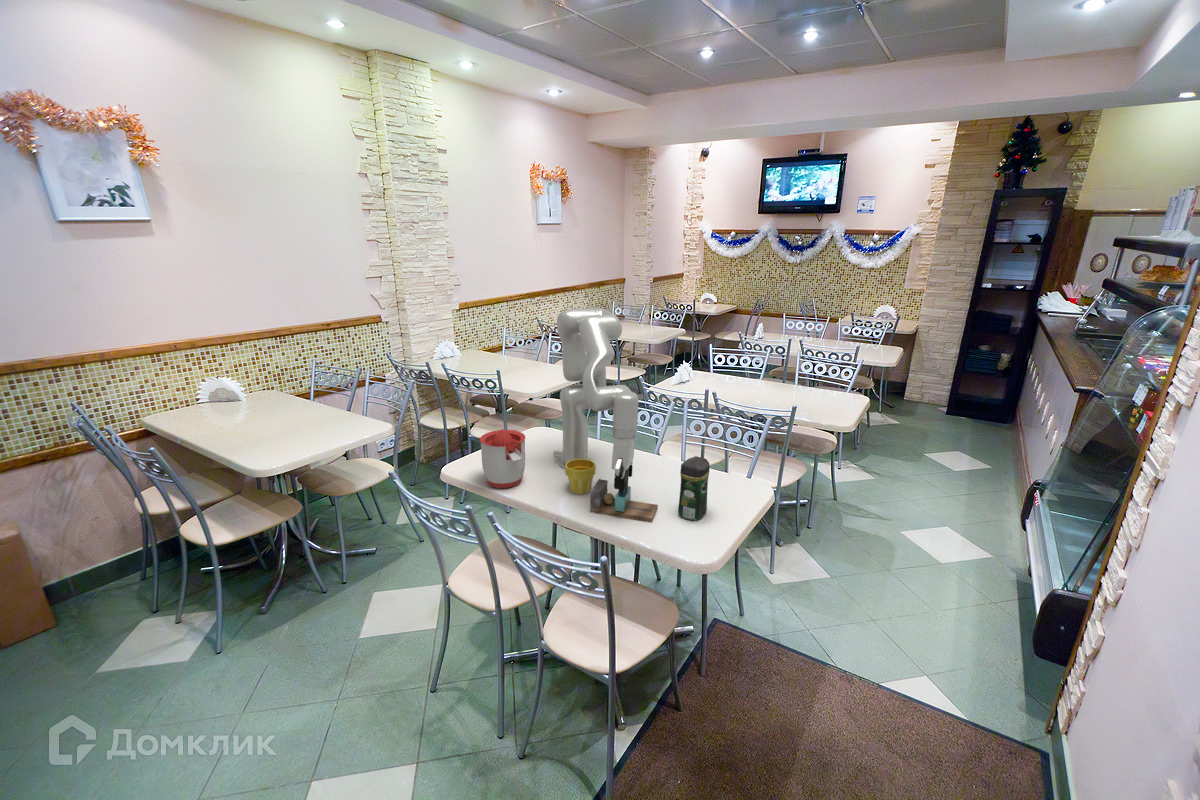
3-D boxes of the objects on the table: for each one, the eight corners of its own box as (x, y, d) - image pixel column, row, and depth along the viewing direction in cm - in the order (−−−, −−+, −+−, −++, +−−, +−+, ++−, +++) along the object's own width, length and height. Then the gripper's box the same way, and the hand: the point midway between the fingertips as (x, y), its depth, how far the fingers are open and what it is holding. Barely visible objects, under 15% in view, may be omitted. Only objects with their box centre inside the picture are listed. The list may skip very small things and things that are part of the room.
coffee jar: (687, 504, 170) (690, 452, 164) (709, 511, 166) (714, 458, 160) (673, 516, 162) (677, 462, 157) (696, 524, 158) (701, 468, 153)
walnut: (601, 505, 165) (601, 495, 164) (604, 500, 168) (605, 490, 167) (612, 507, 164) (612, 497, 163) (615, 502, 167) (615, 492, 166)
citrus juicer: (498, 498, 172) (495, 442, 166) (474, 480, 185) (471, 427, 179) (537, 485, 182) (536, 432, 176) (512, 468, 194) (510, 418, 188)
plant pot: (565, 483, 183) (564, 458, 180) (594, 483, 184) (594, 457, 181) (565, 497, 173) (565, 471, 170) (596, 496, 174) (596, 470, 171)
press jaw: (614, 510, 162) (615, 463, 157) (620, 498, 169) (621, 453, 164) (625, 512, 161) (626, 464, 156) (631, 500, 168) (632, 454, 163)
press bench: (590, 512, 164) (590, 491, 162) (598, 499, 172) (598, 479, 170) (651, 522, 158) (652, 500, 156) (657, 508, 167) (658, 487, 164)
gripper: (620, 421, 166) (618, 469, 171) (605, 440, 151) (604, 492, 156) (643, 424, 164) (640, 472, 169) (630, 443, 148) (628, 496, 154)
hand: (623, 482), depth 162 cm, fingers open, 9 cm apart
